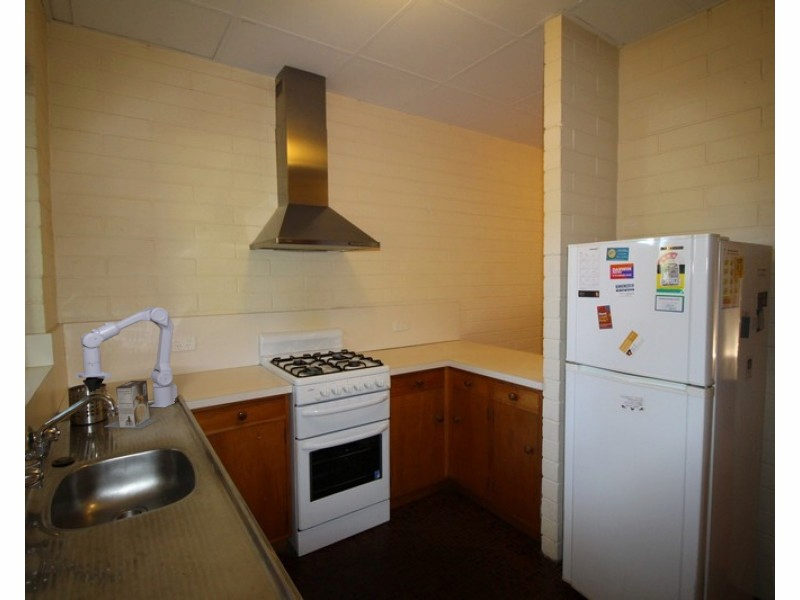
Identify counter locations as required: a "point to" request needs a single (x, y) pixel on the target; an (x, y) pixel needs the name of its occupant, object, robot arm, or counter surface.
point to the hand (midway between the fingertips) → (95, 395)
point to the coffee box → (133, 403)
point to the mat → (142, 425)
